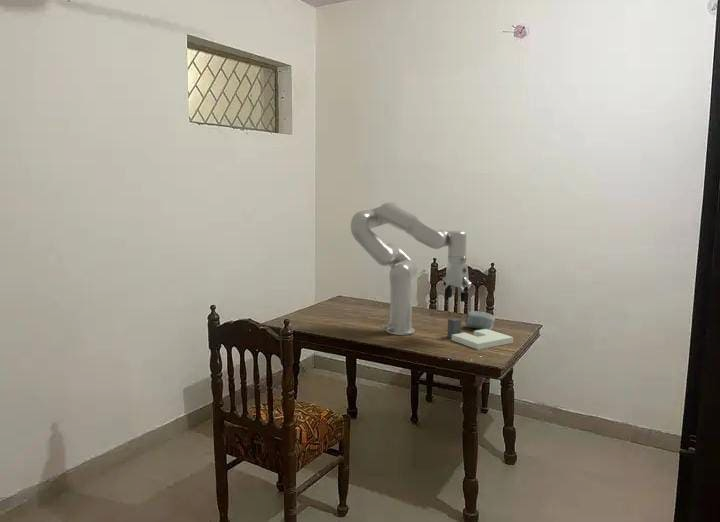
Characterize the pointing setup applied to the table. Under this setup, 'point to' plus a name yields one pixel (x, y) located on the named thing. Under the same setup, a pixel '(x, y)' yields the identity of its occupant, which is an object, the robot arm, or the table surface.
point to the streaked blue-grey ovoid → (479, 320)
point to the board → (482, 339)
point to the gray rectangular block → (454, 326)
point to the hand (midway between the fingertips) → (456, 299)
